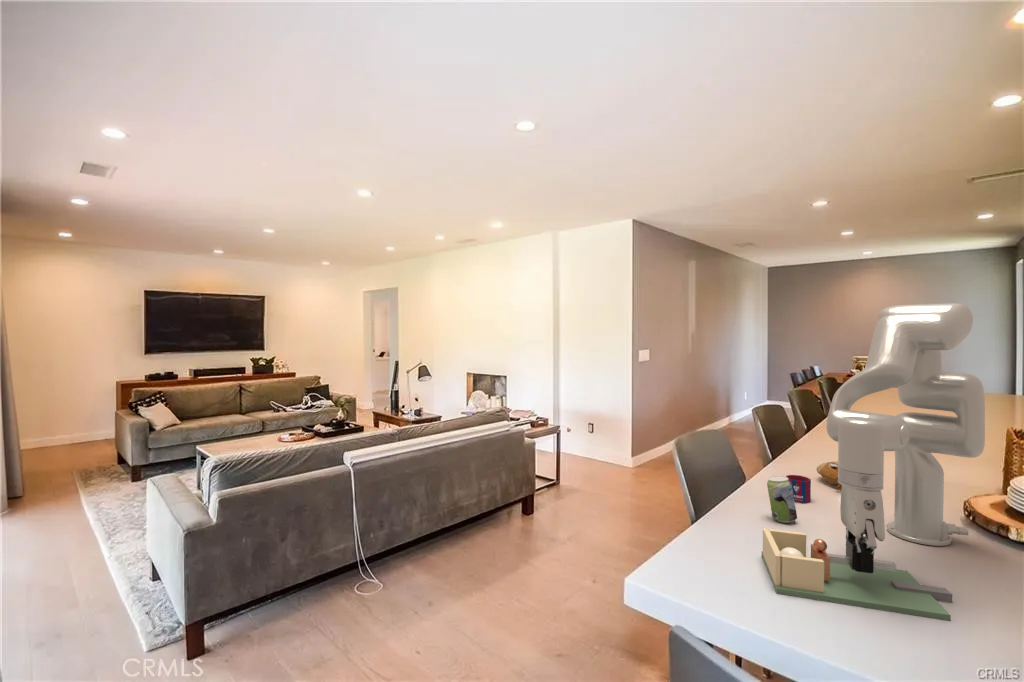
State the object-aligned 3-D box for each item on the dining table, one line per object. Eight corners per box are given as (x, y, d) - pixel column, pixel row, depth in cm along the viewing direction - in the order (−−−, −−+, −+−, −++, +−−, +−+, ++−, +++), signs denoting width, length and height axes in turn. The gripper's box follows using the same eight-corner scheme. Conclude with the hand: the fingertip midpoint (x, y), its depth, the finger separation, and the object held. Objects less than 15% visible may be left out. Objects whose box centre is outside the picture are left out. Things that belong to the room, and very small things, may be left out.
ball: (772, 545, 105) (780, 568, 104) (777, 555, 100) (786, 579, 99) (797, 541, 103) (805, 564, 103) (803, 551, 98) (811, 575, 98)
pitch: (926, 577, 101) (927, 545, 101) (975, 624, 85) (975, 585, 84) (761, 555, 111) (761, 525, 111) (776, 593, 95) (776, 558, 95)
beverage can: (800, 526, 128) (801, 481, 128) (771, 523, 129) (771, 480, 129) (791, 517, 134) (792, 475, 134) (763, 515, 135) (764, 473, 135)
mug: (783, 500, 148) (783, 478, 148) (789, 491, 155) (789, 471, 155) (808, 505, 143) (809, 482, 143) (813, 496, 151) (813, 475, 151)
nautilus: (861, 502, 147) (806, 493, 158) (872, 482, 163) (821, 475, 173) (859, 477, 147) (804, 469, 158) (871, 459, 162) (820, 454, 173)
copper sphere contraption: (887, 576, 98) (888, 540, 98) (901, 591, 93) (901, 553, 92) (809, 565, 103) (809, 531, 103) (817, 579, 97) (817, 543, 97)
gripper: (901, 493, 88) (899, 590, 88) (865, 468, 104) (864, 551, 104) (853, 488, 90) (852, 583, 91) (826, 465, 106) (825, 546, 106)
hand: (859, 565), depth 97 cm, fingers closed on copper sphere contraption, 3 cm apart
